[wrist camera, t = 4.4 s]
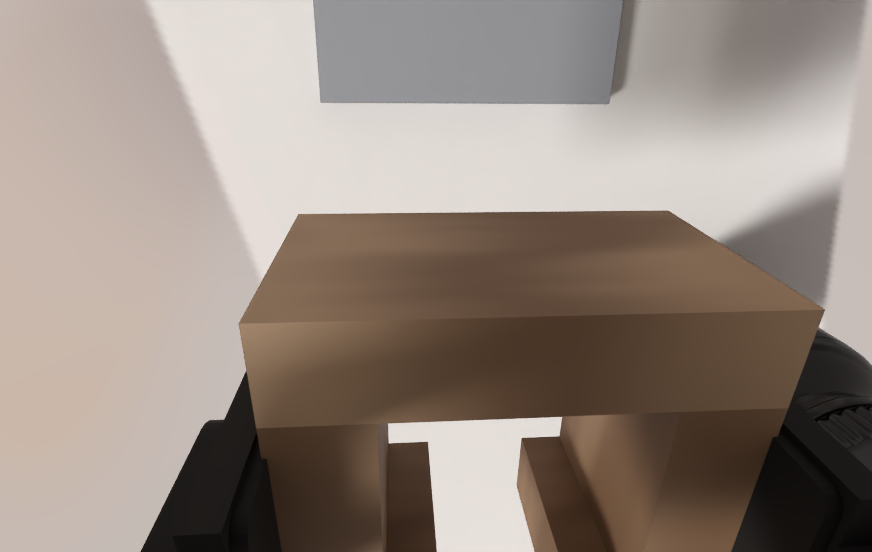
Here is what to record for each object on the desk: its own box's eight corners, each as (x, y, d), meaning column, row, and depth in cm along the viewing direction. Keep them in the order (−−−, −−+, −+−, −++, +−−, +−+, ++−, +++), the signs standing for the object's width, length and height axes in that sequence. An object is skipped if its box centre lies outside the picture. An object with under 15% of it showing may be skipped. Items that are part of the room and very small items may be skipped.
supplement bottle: (768, 316, 28) (1014, 487, 17) (666, 395, 29) (830, 598, 18) (699, 233, 26) (931, 367, 15) (593, 323, 27) (730, 505, 16)
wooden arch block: (668, 210, 10) (825, 310, 6) (611, 481, 13) (696, 654, 9) (298, 214, 9) (239, 323, 6) (327, 494, 12) (298, 683, 9)
